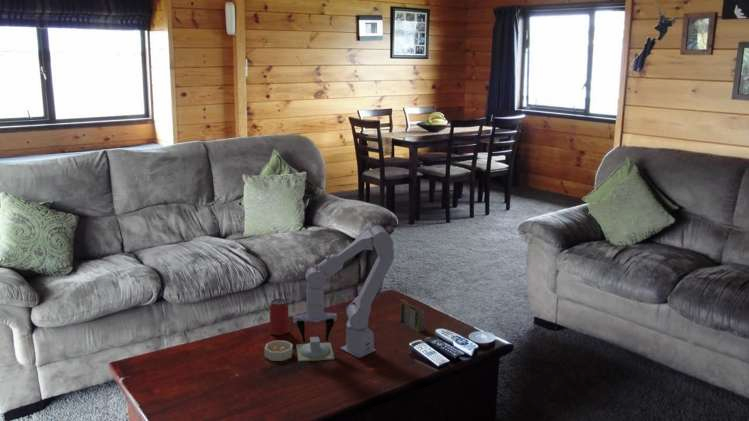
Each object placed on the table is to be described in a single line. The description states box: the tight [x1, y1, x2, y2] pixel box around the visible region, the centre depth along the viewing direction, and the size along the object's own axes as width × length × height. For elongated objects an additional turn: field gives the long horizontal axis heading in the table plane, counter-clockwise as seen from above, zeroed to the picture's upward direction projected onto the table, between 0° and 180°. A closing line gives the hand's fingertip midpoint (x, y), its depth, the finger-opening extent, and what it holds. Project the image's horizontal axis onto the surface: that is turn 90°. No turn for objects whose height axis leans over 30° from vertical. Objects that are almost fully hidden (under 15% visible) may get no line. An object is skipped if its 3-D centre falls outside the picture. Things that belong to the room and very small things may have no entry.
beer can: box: [269, 298, 289, 337], centre depth 244 cm, size 7×7×12 cm
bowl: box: [264, 340, 294, 362], centre depth 228 cm, size 9×9×3 cm
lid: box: [300, 336, 330, 358], centre depth 230 cm, size 10×10×4 cm
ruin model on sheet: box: [399, 298, 425, 333], centre depth 253 cm, size 11×3×10 cm, turn 34°
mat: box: [295, 342, 336, 363], centre depth 231 cm, size 12×12×1 cm
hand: (315, 340), depth 230 cm, fingers open, 7 cm apart
